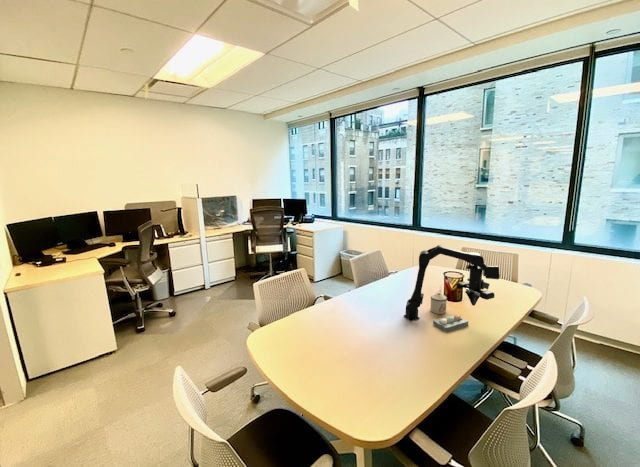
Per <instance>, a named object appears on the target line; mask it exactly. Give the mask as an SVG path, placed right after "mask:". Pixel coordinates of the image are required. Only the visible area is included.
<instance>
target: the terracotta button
mask: <svg viewBox="0 0 640 467" xmlns="http://www.w3.org/2000/svg"><path fill="white" fill-rule="evenodd" d="M454 315H455V316H454V319H455V320H456V321H460V320H461V318H462V316H461V315H459V314H454Z"/></svg>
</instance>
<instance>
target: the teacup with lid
mask: <svg viewBox="0 0 640 467" xmlns="http://www.w3.org/2000/svg"><path fill="white" fill-rule="evenodd" d="M447 300H448V297H447V296H446V295H445V294H443V293H441V292H439V291H438V292H437V293H432V294H431V295H430V311H431V313H432V314H437V315H444V314H446V312H447Z"/></svg>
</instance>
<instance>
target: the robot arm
mask: <svg viewBox="0 0 640 467" xmlns="http://www.w3.org/2000/svg"><path fill="white" fill-rule="evenodd" d="M439 255H442V256H443V255H444V256H446V257H447V256H448V257H450V258H454V259H458V260H461V261H465V262H466V263H468V264H467V265H465V268H466V269H467V270H469V277H467V279H466V280H467V282H466V281H461V282H457V283H456V289H459V290H462V289H465V291H464V294H466V296H467V297H468V300H469V301H470V304H471V306H475V305H476V303H477V302H478V300H479V299H480V298H481V299H483V300H492V299H494V298H495V293H494V292H493V291H490V290H489V288H490V283H489V282H486V281H484V279H483V277H485V279H486V280H487V279H489V280H500V267H499V265H488V264H487V263H486V262H485V260H484V257H483V255H482V254H481V253H480V252H473V251H462V250H458V249H455V248H451V247H447V246H443V245H440V244H439V245H436V246H434V247H431V248H429V249H427V250H421V251H420V252H419V256H418V272H417V277H416V281H415V286H414V289H413V291H412V295H411V296H410V298H409V299H408V300H407V301H406V305H405V314H403V317H404V318H406V320H409V321H416V320H419V319H420V317H419V308H420V307H421V305H423V299H424V295H425V293H422V288H423V284H424V280H425V279H424V278H425V276H426V275H425V274H426V270H427V268H428V266H429V263H430V262H431V260H432V259H434V258H436V257H437V256H439Z"/></svg>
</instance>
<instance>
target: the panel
mask: <svg viewBox="0 0 640 467" xmlns="http://www.w3.org/2000/svg"><path fill="white" fill-rule="evenodd" d="M455 315H456V314H451V315H449V316H444V317H441V318H440V317H439V318H437V319H434V320H433V321H432V325H433V326H435V327H436V328H438V329H440V330H442V332H445V333H447V332H450V331H454V330H457V329H458V330H459V329H461V328H464V327H469V320H466V319H465V318H462V317H461V320H460V321H456V320H455V319H454V322H453V323H450V322H448V321H447V324H446V325H443V324H441V323H440V322H441V319H446V320H448V317H453V318H454V316H455Z"/></svg>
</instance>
